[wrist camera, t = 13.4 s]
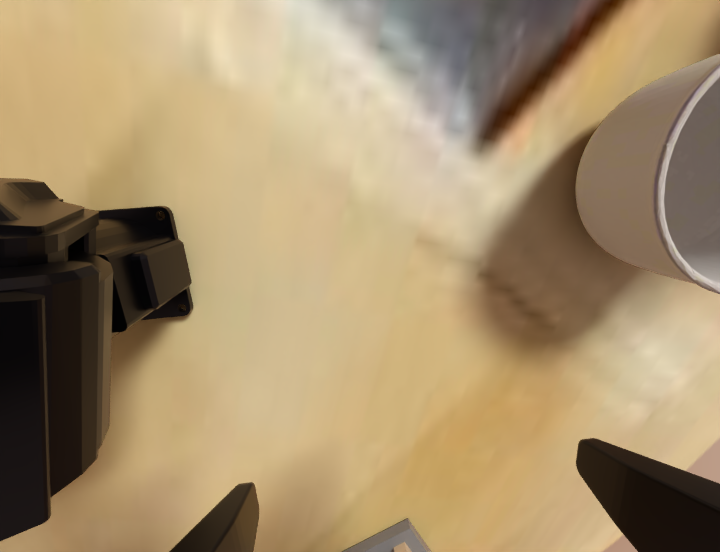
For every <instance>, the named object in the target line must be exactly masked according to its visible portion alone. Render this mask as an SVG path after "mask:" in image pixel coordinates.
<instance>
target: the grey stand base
mask: <svg viewBox="0 0 720 552" xmlns="http://www.w3.org/2000/svg"><path fill="white" fill-rule="evenodd" d="M343 552H431V550H430V549H429V548H428V546H427V545H426V543H425V542H424V541H423V539H422V538H421V536H420V535H419V533H418V532H417V531H416V529H415V528H414V526H413V525H412V524H411V522H410V521H409V519H408V518H407V519H405V520H404V521H402V522H400V523H398V524H396V525H394V526H392V527H390V528H388V529H386V530H384V531H382V532H380V533H378V534H376V535H374V536H372V537H370V538H368V539H366V540H364V541H362V542H360V543H358V544H356V545H355V546H353V547H351V548H349V549H347V550H345V551H343Z"/></svg>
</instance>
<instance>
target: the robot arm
mask: <svg viewBox="0 0 720 552" xmlns="http://www.w3.org/2000/svg"><path fill="white" fill-rule="evenodd" d="M160 211H162V212H164V214H165V218H164V219H162V218H160V216H159V213H160ZM190 284H191V277H190V272H189V268H188V263H187V259H186V254H185V250H184V245H183V243H182V242H181V241H180V240H179V239H178V235H177V230H176V226H175V221H174V217H173V213H172V211H171V210H170V209H169V208H168V207H166V206H155V207H142V208H129V209H115V210H102V211H95V210H89V209H84V207H82V206H78V205H73V204H69V203H65V202H63V199H59V198H58V197H57V196H56V195H55V194H54V193H53V192H52V191H51V190H50V188H49V187H48V186H47V185H46V184H45V183H44V182H40V181H34V180H29V179H7V178H0V541H2V540H4V539H7V538H9V537H11V536H14V535H16V534H19V533H21V532H23V531H26V530H28V529H31V528H33V527H35V526H38V525H40V524H42V523H44V522H46V521H47V520H48V519H49V518H50V516H51V497H52V496H53V495H55V494H56V493H57V492H59V491H60V490H61V489H63V488H64V487H65V486H67V485H68V484H69V483H71V482H72V481H73V480H75V479H76V478H78V477H79V476H80V475H82V474H83V473H84V472H85V470H86V469H87V468H88V467H89V466H90V465H91V464H92V463H93V462H94V461H95V460H96V459H97V457H98V449H99V448H100V446H101V445H102V442H103V440H104V438H105V435H106V433H107V430H108V428H109V417H110V378H111V339H112V338H113V337H114V336H116V335H117V334H118V333H120V332H123V331H125V330H127V329H128V328H129V327H131V326H132V325H134V324H135V323H137V322H138V321H139V320H146V319H156V318H167V317H177V316H185V315H187V314H189V313H190V312H191V311H192V309H193V302H192V298H191V293H190V289H189V285H190ZM180 304H184V305H185V306H186V310H184V309H182V308H181V306H180ZM576 466H577V469H578V472H579V474H580V475H581V477H582V478H583V480H584V481H585V482H586V484H587V485H588V487H589V488H590V489H591V491H592V492H593V494H594V495H595V496H596V498H597V499H598V501H599V502H600V503H601V505H602V506H603V508H604V509H605V511H606V512H607V513H608V515H609V516H610V518H611V519H612V520H613V522H614V523H615V524H616V525H617V527H618V528H619V529H620V531H621V532H622V533H623V534H624V535H625V537H626V538H627V539H628V540H629V541H630V543H631V544H632V545H633V546H634V547H635V549H637V551H638V552H720V484H719V483H716V482H713V481H711V480H708V479H705V478H703V477H700V476H697V475H695V474H692V473H689V472H686V471H684V470H681V469H678V468H675V467H673V466H670V465H667V464H664V463H662V462H659V461H656V460H653V459H651V458H648V457H645V456H642V455H640V454H637V453H634V452H631V451H629V450H626V449H623V448H620V447H618V446H615V445H612V444H609V443H607V442H604V441H601V440H598V439H595V438H590V439H582V440H580V442H579V444H578V451H577V459H576ZM258 520H259V504H258V499H257V494H256V489H255V485H254V483H252V482H250V483H243V484H238V485H237V486H236V487H235V488H234V489H233V490H232V491H231V492H230V493H229V494H228V495H227V496H226V497H225V498H224V499H223V500H221V501H220V502H219V503H218V504H217V505H216V506H215V507H214V508H213V509H212V510H211V511H210V512H209V513H208V514H207V515H206V516H205V517H204V518H203V519H202V520H201V521H200V522H199V523H198V524H197V525H196V526H195V527H194V528H193V529H192V530H191V531H190V532H189V533H188V534H187V535H186V536H185V537H184V538H183V539H182V540H181V541H180V542H179V543H178V544H177V545H176V546H175V547H174V548H173V549H172V550H170V551H169V552H253V550H254V544H255V538H256V532H257V526H258Z"/></svg>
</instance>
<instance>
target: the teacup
mask: <svg viewBox="0 0 720 552" xmlns="http://www.w3.org/2000/svg"><path fill="white" fill-rule="evenodd" d="M575 191H576V202H577V208H578V212H579V215H580V218H581V221H582V223H583V225H584V227H585V229H586V230H587V232H588V233H589V235H590V236H591V238H592V239H593V240H594V241H595V242H596V243H597V244H598V245H599V246H600V247H601V248H603V249H604V250H605V251H606V252H608V253H609V254H611V255H612V256H614V257H616V258H618V259H620V260H622V261H624V262H626V263H629V264H631V265H634V266H636V267H639V268H642V269H646V270H649V271H652V272H655V273H658V274H661V275H665V276H669V277H672V278H676V279H679V280H683V281H687V282H690V283H694V284H697V285H699V286H700V287H702V288H705V289H707V290H709V291H712V292H715V293H718V294H720V54H717V55H715V56H712V57H709V58H707V59H704V60H702V61H699V62H697V63H694V64H692V65H689V66H687V67H685V68H682V69H680V70H677V71H675V72H673V73H671V74H669V75H666V76H664V77H662V78H660V79H658V80H656V81H653V82H652V83H650V84H648V85H646V86H645V87H643V88H641V89H639V90H638V91H636V92H635V93H633V94H632V95H631V96H629V97H628V98H626V99H625V100H624V101H623V102H621V103H620V104H619V105H618V106H617V107H616V108H615V109H614V110H612V111H611V112H610V113H609V115H608V116H607V117H606V118H605V119H604V120H603V121H602V122H601V124H600V125H599V126H598V128H597V129H596V131H595V132H594V133H593V135H592V137H591V138H590V140H589V142H588V144H587V146H586V148H585V150H584V152H583V155H582V157H581V160H580V164H579V167H578V171H577V177H576V188H575Z"/></svg>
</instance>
